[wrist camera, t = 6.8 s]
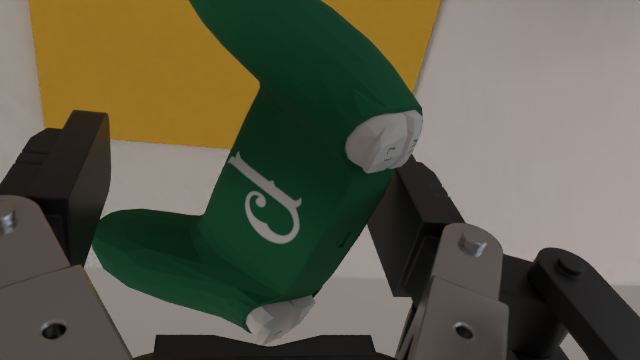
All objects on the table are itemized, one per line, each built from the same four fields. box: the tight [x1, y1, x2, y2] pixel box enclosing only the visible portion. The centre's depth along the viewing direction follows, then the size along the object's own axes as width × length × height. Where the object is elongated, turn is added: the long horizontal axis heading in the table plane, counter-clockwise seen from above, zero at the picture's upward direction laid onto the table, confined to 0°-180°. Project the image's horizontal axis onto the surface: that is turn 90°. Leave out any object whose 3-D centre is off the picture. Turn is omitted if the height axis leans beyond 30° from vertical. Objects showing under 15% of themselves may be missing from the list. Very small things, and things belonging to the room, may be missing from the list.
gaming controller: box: [92, 0, 423, 346], centre depth 12 cm, size 9×4×6 cm
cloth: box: [29, 0, 441, 149], centre depth 26 cm, size 20×14×1 cm
